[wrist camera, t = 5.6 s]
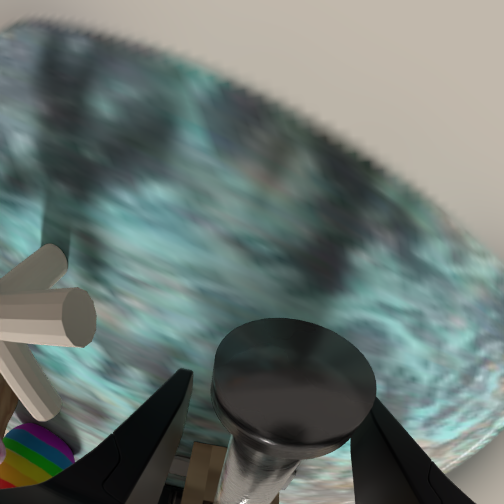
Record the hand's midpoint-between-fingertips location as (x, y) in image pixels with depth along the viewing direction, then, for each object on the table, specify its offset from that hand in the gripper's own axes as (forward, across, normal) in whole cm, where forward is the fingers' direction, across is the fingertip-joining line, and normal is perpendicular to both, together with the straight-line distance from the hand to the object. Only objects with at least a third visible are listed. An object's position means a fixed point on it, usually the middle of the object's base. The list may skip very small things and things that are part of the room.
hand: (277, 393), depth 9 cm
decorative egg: (+5, +18, +22) cm, 29 cm away
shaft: (+1, 0, +6) cm, 6 cm away
